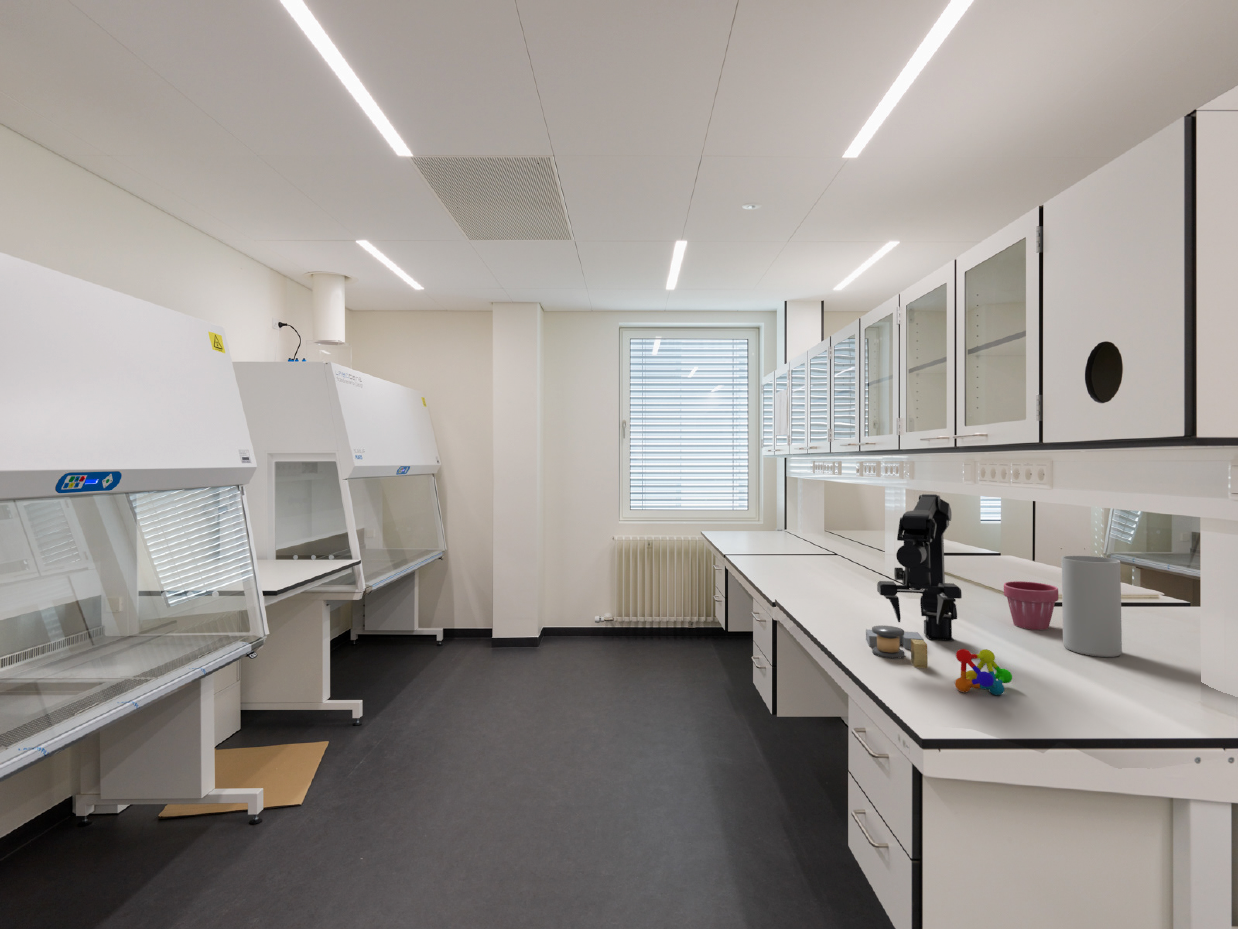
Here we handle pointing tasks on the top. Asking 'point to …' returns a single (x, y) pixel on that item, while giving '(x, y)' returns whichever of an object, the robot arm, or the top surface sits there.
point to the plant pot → (1031, 603)
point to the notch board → (903, 640)
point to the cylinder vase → (1092, 605)
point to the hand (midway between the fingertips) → (918, 623)
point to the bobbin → (888, 642)
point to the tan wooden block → (919, 653)
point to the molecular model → (981, 678)
